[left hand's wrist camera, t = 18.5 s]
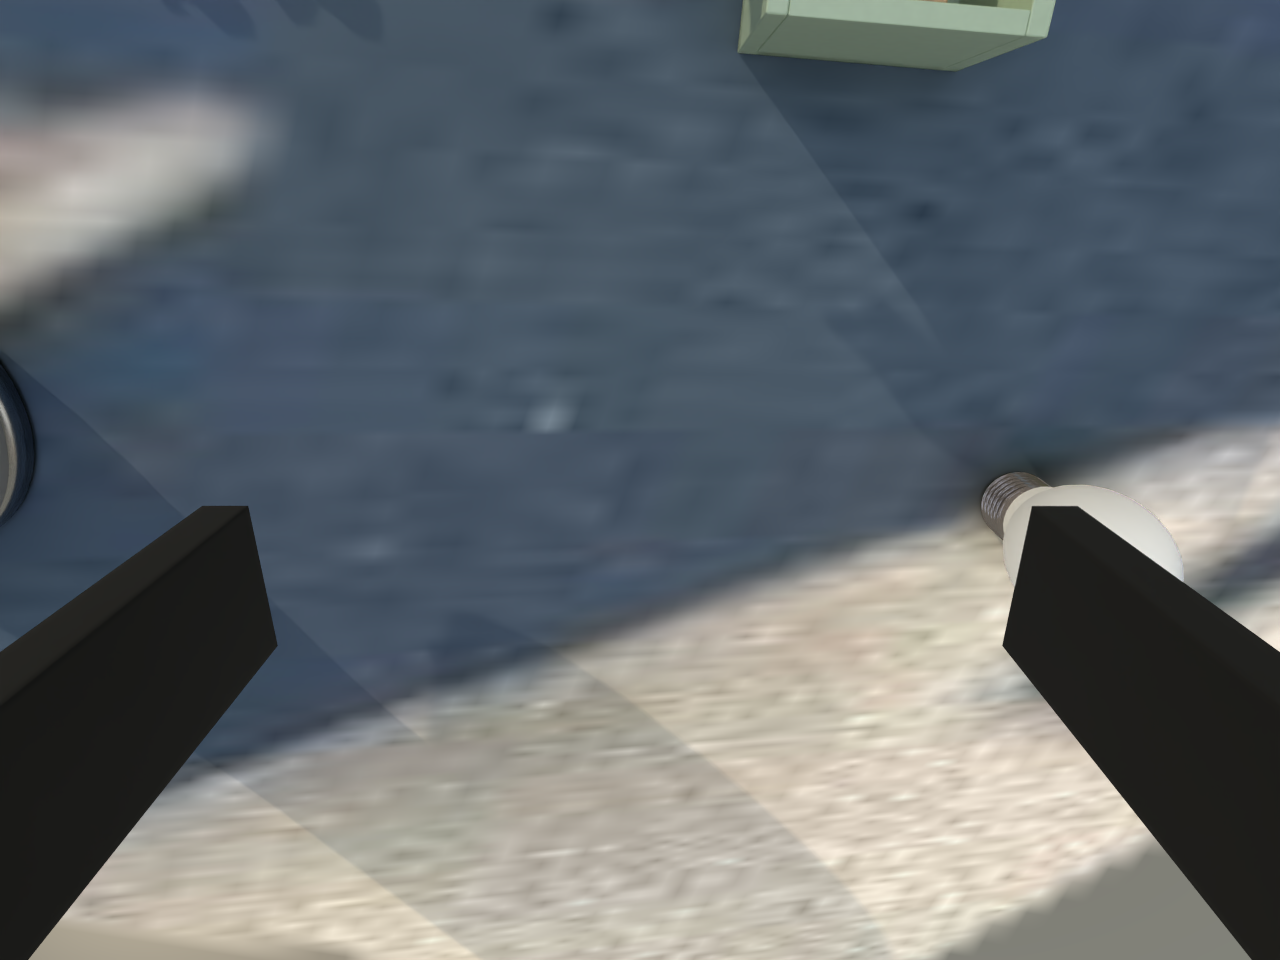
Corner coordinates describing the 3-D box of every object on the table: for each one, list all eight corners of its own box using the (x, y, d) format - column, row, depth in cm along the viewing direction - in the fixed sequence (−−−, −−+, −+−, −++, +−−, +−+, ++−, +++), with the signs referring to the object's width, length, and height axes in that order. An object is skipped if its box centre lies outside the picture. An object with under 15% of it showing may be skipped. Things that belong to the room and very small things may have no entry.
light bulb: (931, 513, 41) (1028, 620, 31) (1023, 421, 39) (1159, 502, 29) (1014, 578, 43) (1132, 701, 32) (1106, 492, 41) (1263, 594, 31)
